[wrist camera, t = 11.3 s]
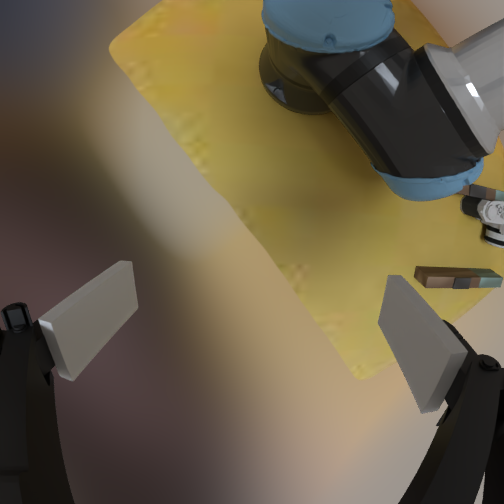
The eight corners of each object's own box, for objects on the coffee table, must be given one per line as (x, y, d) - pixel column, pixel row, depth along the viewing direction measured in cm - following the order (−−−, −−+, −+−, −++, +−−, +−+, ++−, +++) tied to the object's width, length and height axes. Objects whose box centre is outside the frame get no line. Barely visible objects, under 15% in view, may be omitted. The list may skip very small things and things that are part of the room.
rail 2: (416, 266, 44) (429, 277, 39) (489, 268, 42) (504, 278, 37) (414, 276, 45) (426, 289, 40) (487, 277, 43) (501, 288, 38)
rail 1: (427, 175, 39) (443, 177, 34) (502, 192, 37) (518, 196, 32) (427, 187, 40) (442, 190, 35) (501, 202, 38) (517, 206, 33)
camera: (454, 236, 42) (484, 252, 32) (459, 189, 39) (493, 197, 30) (505, 241, 40) (534, 256, 31) (511, 200, 38) (542, 210, 28)
